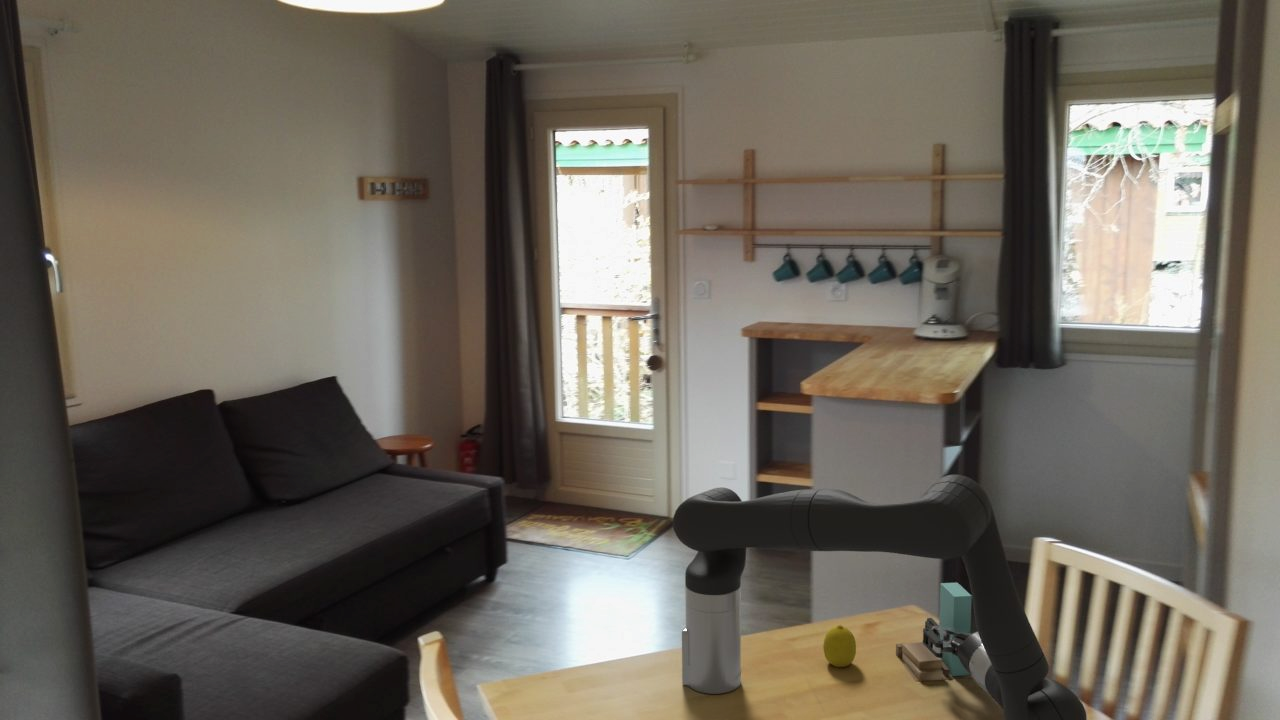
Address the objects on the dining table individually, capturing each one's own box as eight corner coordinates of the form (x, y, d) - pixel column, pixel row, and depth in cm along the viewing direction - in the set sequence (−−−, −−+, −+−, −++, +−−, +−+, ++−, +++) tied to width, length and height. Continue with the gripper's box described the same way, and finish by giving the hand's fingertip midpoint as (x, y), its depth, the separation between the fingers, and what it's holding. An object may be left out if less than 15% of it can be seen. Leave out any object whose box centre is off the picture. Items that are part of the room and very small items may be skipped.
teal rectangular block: (951, 676, 169) (954, 596, 167) (938, 660, 175) (940, 583, 172) (968, 675, 169) (971, 595, 167) (954, 659, 175) (957, 582, 173)
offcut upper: (919, 670, 168) (919, 661, 168) (902, 652, 175) (902, 643, 174) (941, 668, 168) (942, 659, 168) (923, 650, 175) (923, 641, 175)
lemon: (861, 667, 174) (862, 624, 173) (845, 679, 170) (846, 634, 169) (833, 659, 178) (833, 616, 177) (817, 670, 174) (817, 626, 173)
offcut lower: (918, 680, 167) (919, 672, 167) (902, 659, 175) (902, 651, 175) (942, 679, 168) (942, 671, 167) (924, 658, 175) (925, 650, 175)
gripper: (1039, 639, 155) (994, 598, 171) (950, 644, 154) (912, 602, 170) (1037, 685, 156) (992, 640, 172) (948, 690, 155) (911, 644, 171)
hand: (953, 621), depth 171 cm, fingers open, 8 cm apart
